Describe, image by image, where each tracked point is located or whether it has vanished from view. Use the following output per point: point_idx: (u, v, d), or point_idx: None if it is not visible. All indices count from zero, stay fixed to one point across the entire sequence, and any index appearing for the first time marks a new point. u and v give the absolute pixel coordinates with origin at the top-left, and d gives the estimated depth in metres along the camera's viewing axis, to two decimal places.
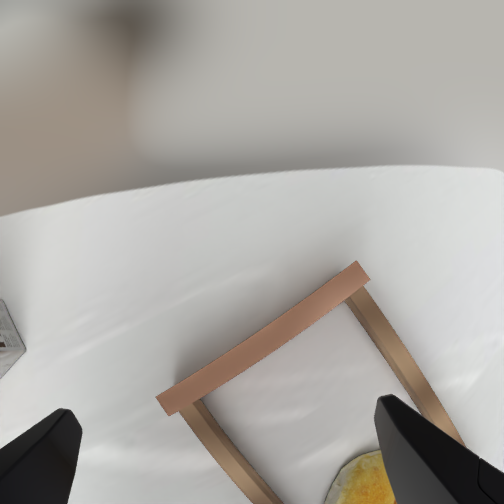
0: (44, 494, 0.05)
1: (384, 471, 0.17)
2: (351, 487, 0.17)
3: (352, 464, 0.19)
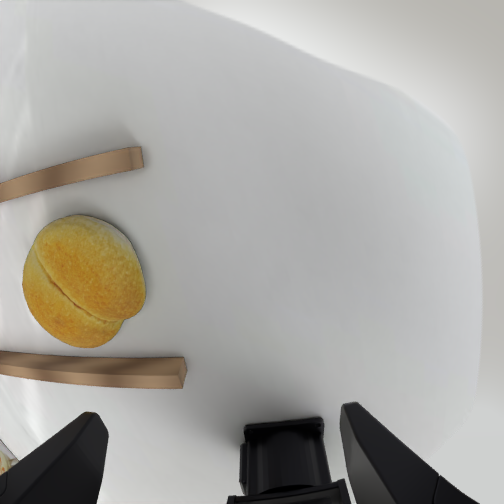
0: (71, 503, 0.05)
1: (25, 278, 0.17)
2: None
3: None
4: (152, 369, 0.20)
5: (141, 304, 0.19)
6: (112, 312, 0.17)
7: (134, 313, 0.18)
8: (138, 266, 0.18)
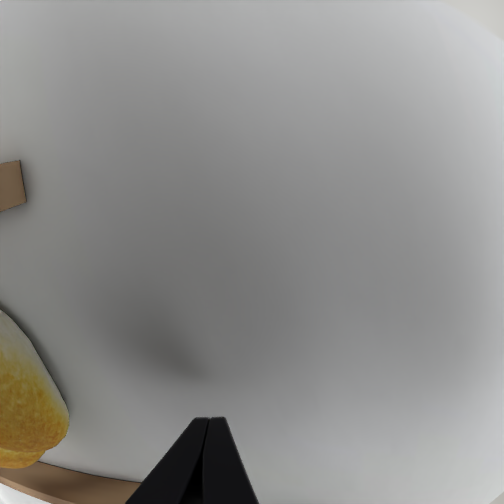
0: None
1: None
2: None
3: None
4: (104, 499, 0.10)
5: (62, 435, 0.09)
6: (16, 450, 0.07)
7: (54, 445, 0.09)
8: (41, 384, 0.08)
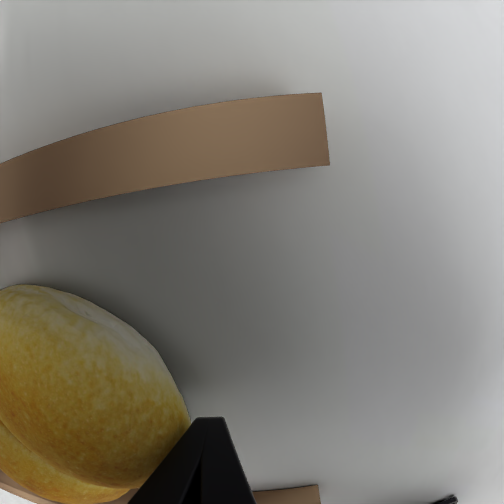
0: None
1: None
2: None
3: None
4: None
5: None
6: (134, 488, 0.07)
7: None
8: (180, 405, 0.08)
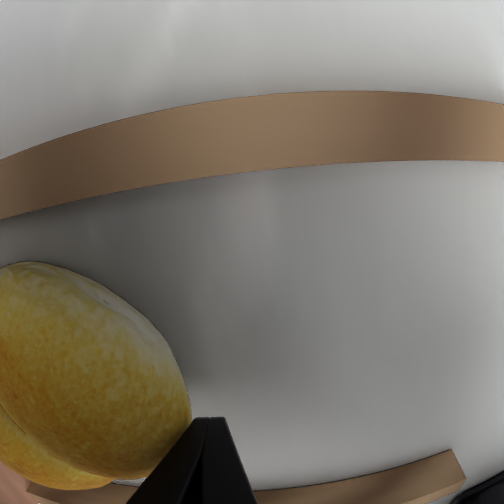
0: None
1: None
2: None
3: None
4: (425, 483, 0.10)
5: None
6: None
7: None
8: (186, 400, 0.08)
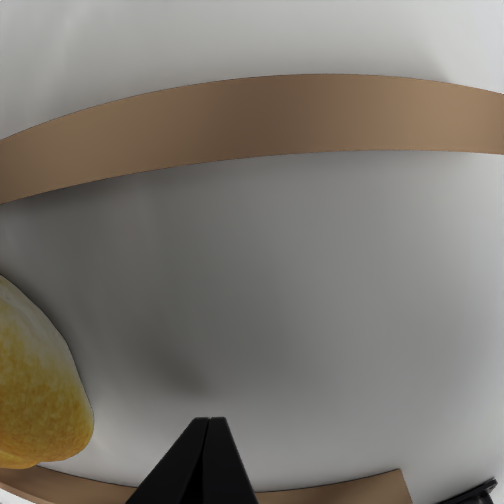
0: None
1: None
2: None
3: None
4: (364, 503, 0.09)
5: (86, 445, 0.08)
6: (34, 461, 0.06)
7: (74, 454, 0.08)
8: (78, 394, 0.07)
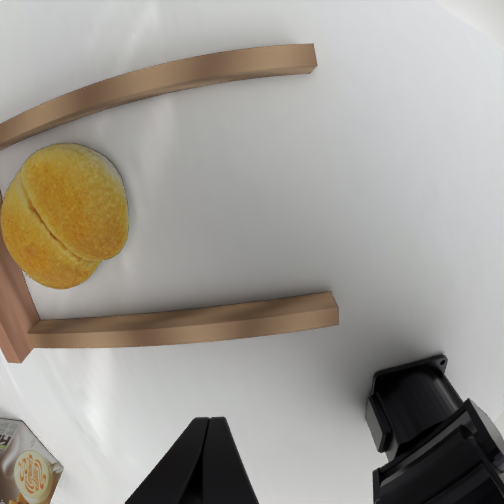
0: None
1: (4, 203, 0.15)
2: None
3: None
4: (302, 306, 0.18)
5: (121, 245, 0.17)
6: (88, 247, 0.15)
7: (112, 254, 0.17)
8: (125, 202, 0.17)
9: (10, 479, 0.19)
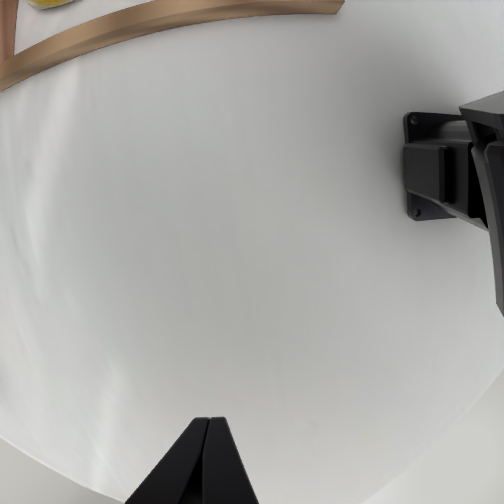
0: None
1: None
2: None
3: None
4: None
5: None
6: None
7: None
8: None
9: None
